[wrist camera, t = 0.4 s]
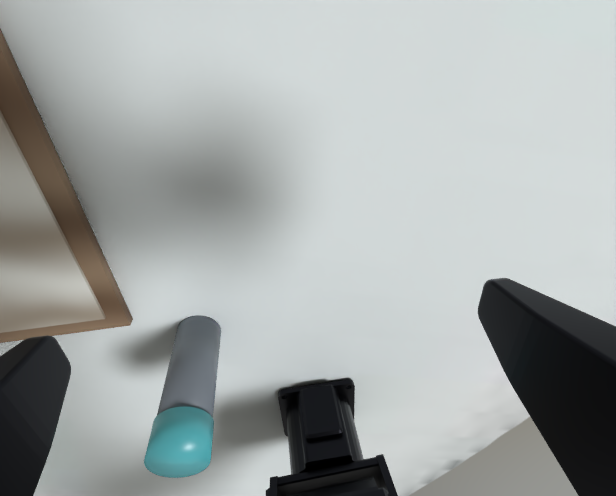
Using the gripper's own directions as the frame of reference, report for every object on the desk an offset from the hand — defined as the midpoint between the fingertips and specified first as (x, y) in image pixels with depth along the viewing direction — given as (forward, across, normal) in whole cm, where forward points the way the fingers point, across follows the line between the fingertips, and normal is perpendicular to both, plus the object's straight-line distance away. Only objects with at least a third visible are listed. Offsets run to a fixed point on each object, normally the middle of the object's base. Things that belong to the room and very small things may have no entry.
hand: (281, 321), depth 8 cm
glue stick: (+14, +6, +13) cm, 20 cm away
